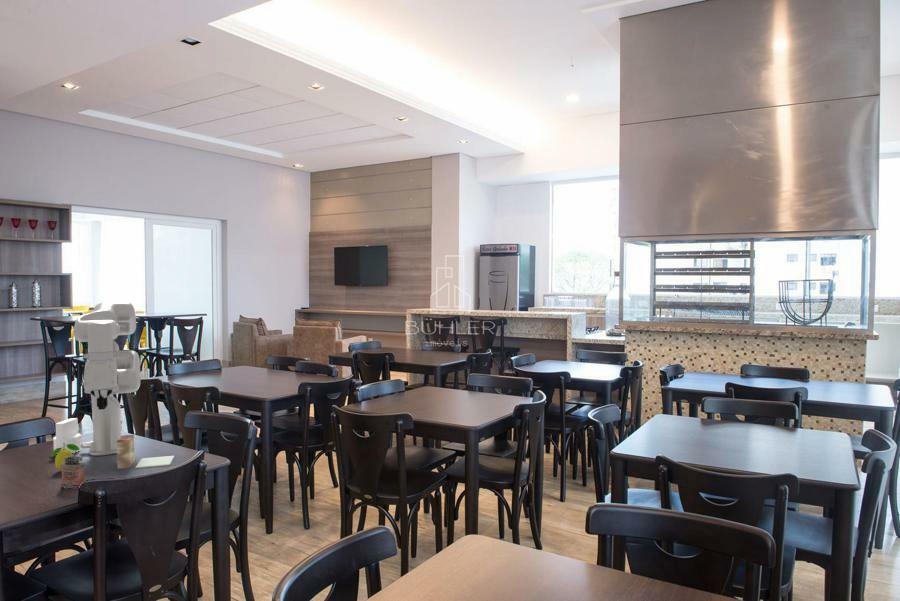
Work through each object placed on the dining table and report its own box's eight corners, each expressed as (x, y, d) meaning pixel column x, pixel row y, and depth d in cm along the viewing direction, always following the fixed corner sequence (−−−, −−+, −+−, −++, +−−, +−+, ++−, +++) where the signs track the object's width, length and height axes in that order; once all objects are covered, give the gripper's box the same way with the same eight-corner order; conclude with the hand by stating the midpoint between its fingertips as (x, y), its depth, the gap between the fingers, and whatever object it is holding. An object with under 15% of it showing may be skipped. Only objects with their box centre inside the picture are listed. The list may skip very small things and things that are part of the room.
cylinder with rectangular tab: (71, 454, 227) (70, 423, 227) (48, 455, 227) (47, 423, 227) (86, 448, 236) (85, 418, 236) (64, 448, 236) (63, 418, 236)
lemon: (80, 468, 210) (79, 440, 209) (65, 474, 204) (64, 444, 204) (65, 467, 212) (64, 439, 211) (50, 472, 206) (49, 443, 206)
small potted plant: (58, 487, 190) (57, 456, 190) (67, 484, 194) (66, 453, 193) (79, 489, 188) (78, 458, 188) (88, 486, 192) (87, 455, 191)
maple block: (117, 468, 209) (116, 440, 209) (122, 463, 216) (121, 435, 216) (130, 467, 211) (129, 439, 210) (134, 461, 217) (133, 434, 217)
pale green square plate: (135, 468, 209) (135, 467, 209) (141, 459, 220) (141, 458, 220) (169, 465, 212) (169, 464, 212) (174, 456, 223) (174, 455, 223)
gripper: (73, 359, 204) (74, 412, 205) (122, 357, 208) (123, 409, 209) (79, 356, 211) (81, 408, 212) (127, 354, 216) (128, 405, 216)
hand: (102, 408), depth 210 cm, fingers closed
